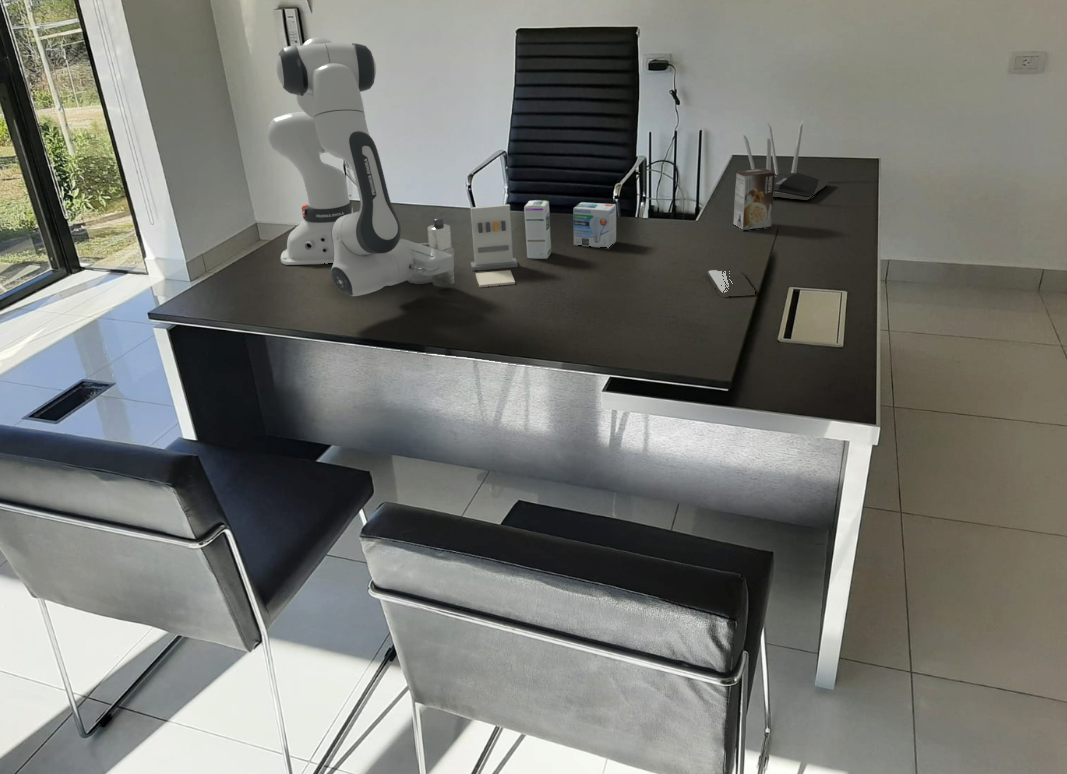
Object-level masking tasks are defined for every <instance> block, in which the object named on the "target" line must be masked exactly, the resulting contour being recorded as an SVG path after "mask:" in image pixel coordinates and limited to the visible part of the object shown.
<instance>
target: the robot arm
mask: <svg viewBox="0 0 1067 774" xmlns="http://www.w3.org/2000/svg"><path fill="white" fill-rule="evenodd" d="M276 74H277V77H278V80H279V83H281V85H282V89H283V90H285V91H286V92H288V93H289V94H292V95H296V96H295V97H296V102H297V104H298V106H299V107H300V109H301V110H302V111H295V112H288V113H286V114H282V115H280V116H279V115H278V116H275V117H273V118H272V119H271V121H270V123H269V125H268V129H267V139H268V142H269V144H270V146H271V148H272V150H274V151H275V153H277V154H278V155H280V156H282V157H284V158H285V159H286V160H288V161H289V162H290V163H291V164H292V165H293V166H294V167H295V168H296V169H297V171H298V172H299V174H300V176H301V177H302V181H303V184H304V187H305V193H306V196H307V197H306V198H307V201H308V203H304V204H302V206H301V211H302V219H303V220H302V221H301V222H300V223H299V224H298V225H297V226H296V227H295V228H294V229H293V230H292V231H291V232H290V233H289V235H288V237H287V240H286V241H287V242H286V248H285V250H283V251H282V252H281V255H280V262H281V264H283V265H285V266H290V265H291V266H293V265H294V266H295V265H297V266H298V265H324V263H325V265H329V264H328V263H333V264H332V266H331V269H330V274H331V275H330V276H331V278H332V282H333V283H334V286H336V288H337V290H339V291H340V292H341V293H342V294H344V295H346V296H349V297H356V296H357V297H358V296H363V295H368V294H371V293H374V292H377V291H379V290H381V289H383V288H384V287H386V286H394V285H398V284H400V283H404V282H406V281H407V280H409V279H411V278H412V277H413V275H414V272H418V273H421V274H424V275H428V276H432V275H437V274H441V273H445V272H448V271H451V270H453V269H454V268H455V261H454V256H455V254H456V253H455V248H453V247H452V248H446V249H445V251H444V252H443V251H439V250H436V249H433V248H430V247H429V242H424V243H421V242H419V243H417V242H414V241H411V240H409V239H405V238H401V235H402V234H401V233H402V225H401V222H400V220H399V217H398V214H397V213H396V210H395V208H394V206H393V204H392V201H391V199H390V195H389V191H388V188H387V187H388V186H387V184H386V183H387V181H386V179H385V176H384V171H383V167H382V162H381V158H380V155H379V151H378V149H377V145H376V143H375V141H374V139H373V138H372V137H371V135H370V132H369V129H368V125H367V120H366V115H365V114H366V113H365V109H364V108H365V107H364V103H363V98H362V94H361V92H366V91H368V90H370V89H371V88H372V87H373V86H374V84H375V79H376V74H377V65H376V61H375V58H374V56H373V53H372V51H371V49H369V48H368V47H367V45H365V44H360V43H354V42H353V43H351V44H350V43H341V42H340V43H339V42H333V41H331V40H330V39H329V38H328V39H327V38H325V37H321V36H320V37H319V36H315V37H311V38H309V39H307V40H306V41H304V43H303V44H302V45H298V46H297V45H296V44H294V45H289V46H285V47H283V48H281V50H280V51H279V53H278V57H277V61H276ZM322 154H330V155H332V156H333V157H335V158H338V159H341V160H344V162H346V163H347V164H349V166H350V167H351V170H352V172H353V176H354V181H355V184H356V188H357V189H356V190H357V192H358V193H357V194H358V197H359V202H360V207H359V211H355V212H354V209H353V205H352V204H353V203H352V201H350V196H349V187H348V181H347V176H346V174H345V172H343V171H342V170H341V169H340V168H338V167H337V166H334V165H332V164H328V163H325V162H323V161H322V160H321V155H322Z"/></svg>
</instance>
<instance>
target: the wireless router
mask: <svg viewBox="0 0 1067 774" xmlns="http://www.w3.org/2000/svg"><path fill="white" fill-rule="evenodd" d="M803 125H804V119H801V120H800V122H799V125H798V131H797V137H796V144H795V149H794V155H793V161H792V166H791V171H790V173H795V174H787V175H786V174H784V175H783V174H781V173H779V168H778V161H777V155H776V149H775V142H774V135H773V131H772V129H773V128H772V126H771V125H770V124H769V123H767V129H768V135H769V136H768V137H767V138H766V168H765V169H768V170H770V171H772V166H771V165H772V162H773V169H774V172H775V174H776V175H777V174H780V175H778V176H775V181H774V192H775V193H783V194H791V195H796V196H801V197H810V196H812V195H813V194H814V192H815V190H816V188H817V185H818V181H819V180H818V179H816V178H813V177H814V176H812V177H810V175H807V174H804V173H801V172H797V168H798V162H799V155H800V147H801V141H802V140H801V139H802V134H803ZM743 140H744V145H745V148H746V149H745V150H746V152H747V155H748V160H749V163H750V170H752V169H756V167H755V163H754V158H753V154H752V151H751V147H750V142H749V140H748V137H747V136H746V135H743ZM771 161H772V162H771Z"/></svg>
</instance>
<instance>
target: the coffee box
mask: <svg viewBox="0 0 1067 774" xmlns="http://www.w3.org/2000/svg"><path fill="white" fill-rule="evenodd" d="M735 172H736V173H735V189H734V190H735V191H734V192H735V193H734V206H733V207H734V208H733V210H734V211H733V224H734V225H736V226H738V227H739V228H741V229H752V228H762V227H769V226H771V227H772V219H773V207H774V198H773V194H774V181H775V177H776V176H775V171H772V170H771V171H770V170H768V169H766V168H755V169H746V170H743V169H742V170H737V171H735Z"/></svg>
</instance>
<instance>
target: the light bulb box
mask: <svg viewBox="0 0 1067 774" xmlns="http://www.w3.org/2000/svg"><path fill="white" fill-rule="evenodd" d="M616 242H617V204H616V203H614V204H613V203H599V202H598V203H596V202H584V201H582V202H580V203H577V204H576V206H575V207H573V246H578V245H582V246H581V247H589V246H591V247H592V248H600V247H607V248H606V249H610V248H611V247H612V246H613V245H614V244H615V243H616ZM612 244H613V245H612ZM611 245H612V246H611ZM610 246H611V247H610ZM609 247H610V248H609Z"/></svg>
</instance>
